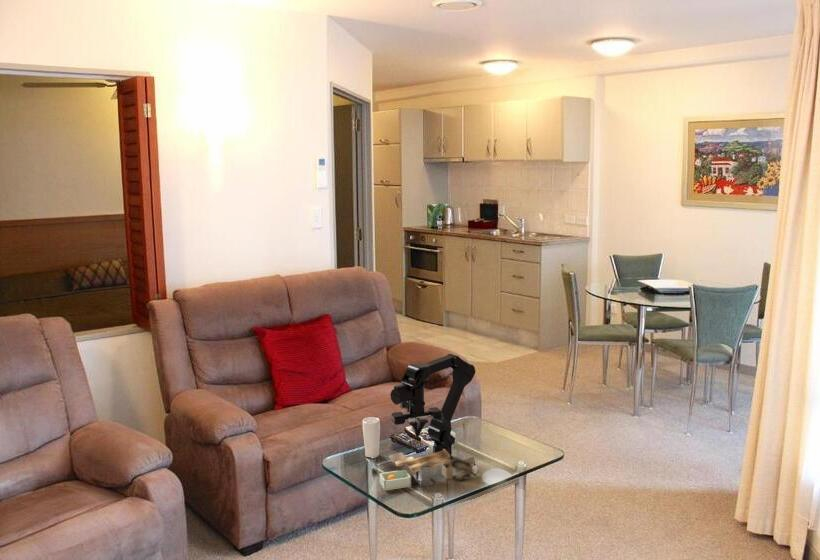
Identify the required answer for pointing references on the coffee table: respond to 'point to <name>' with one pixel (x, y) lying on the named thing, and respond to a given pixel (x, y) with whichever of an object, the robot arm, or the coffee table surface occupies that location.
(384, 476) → the mint cubby shelf
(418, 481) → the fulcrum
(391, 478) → the ball
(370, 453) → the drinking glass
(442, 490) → the coffee table surface
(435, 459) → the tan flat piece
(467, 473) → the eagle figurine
